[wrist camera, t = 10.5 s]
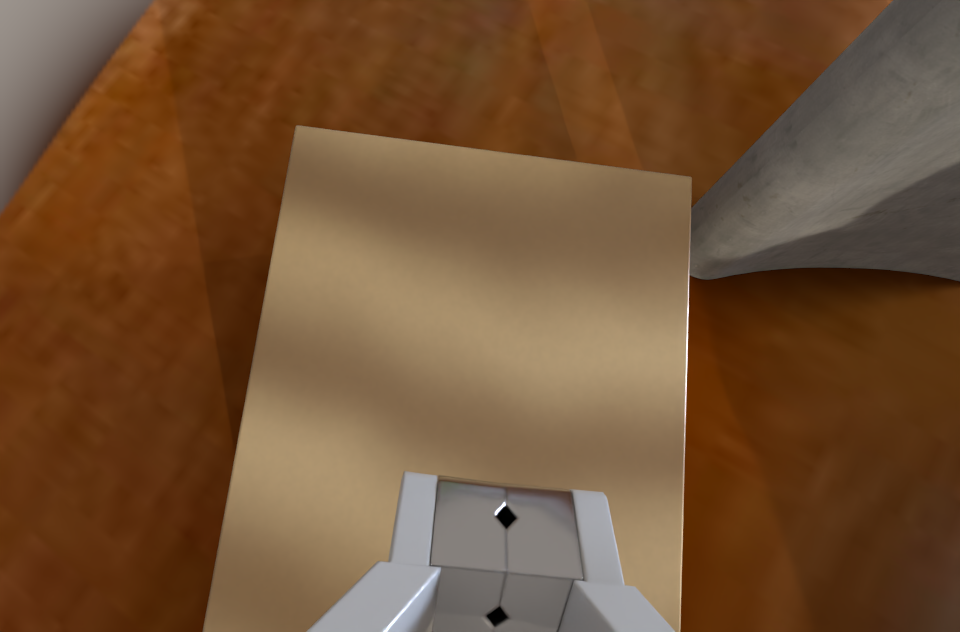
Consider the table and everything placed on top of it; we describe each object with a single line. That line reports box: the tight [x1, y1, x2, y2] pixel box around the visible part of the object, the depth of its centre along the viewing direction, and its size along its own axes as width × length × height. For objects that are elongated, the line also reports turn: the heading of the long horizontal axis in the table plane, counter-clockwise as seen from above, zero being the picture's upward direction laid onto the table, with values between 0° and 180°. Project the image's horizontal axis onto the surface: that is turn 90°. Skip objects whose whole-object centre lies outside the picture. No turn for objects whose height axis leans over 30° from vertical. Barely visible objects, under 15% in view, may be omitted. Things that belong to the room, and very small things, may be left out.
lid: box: [203, 126, 692, 632], centre depth 20 cm, size 16×13×1 cm
